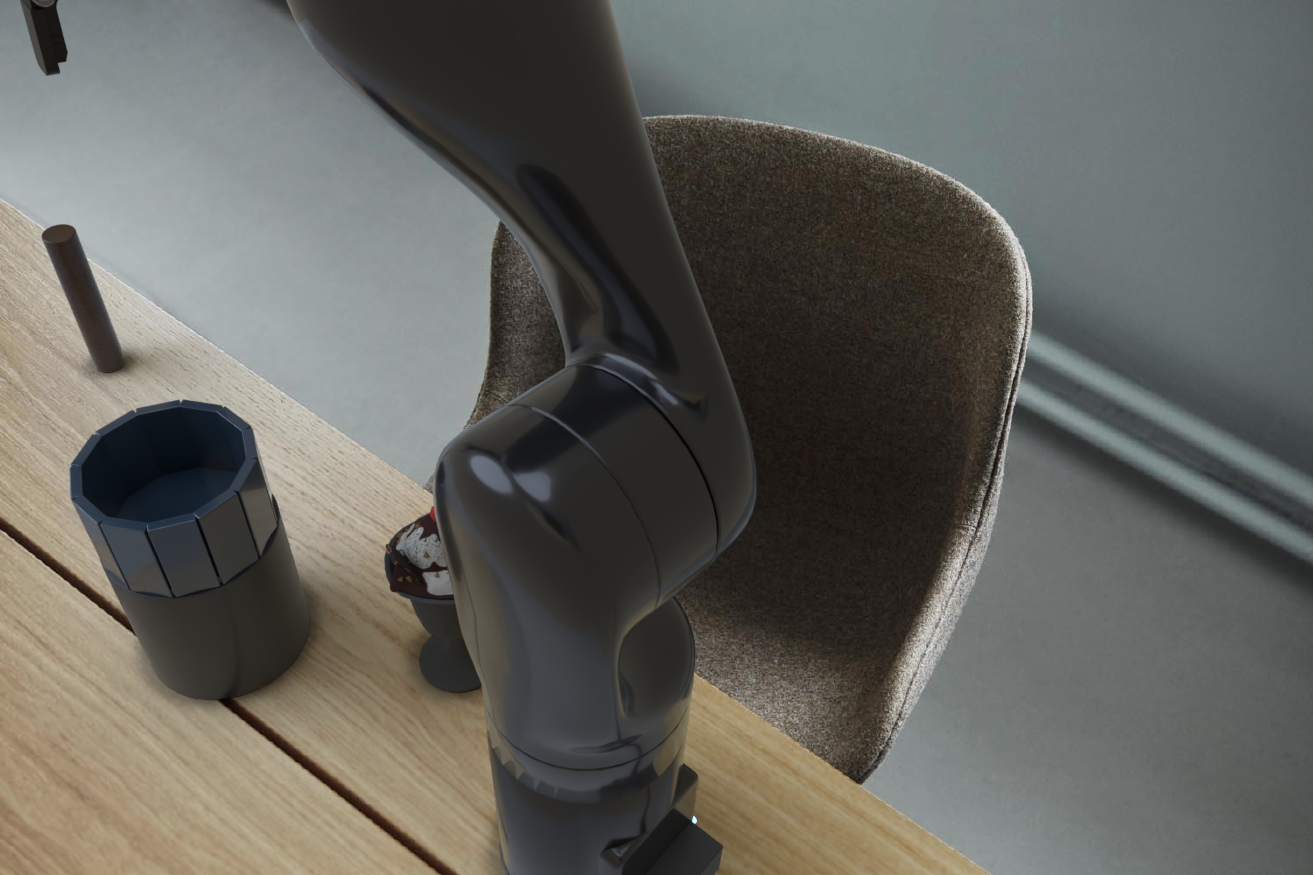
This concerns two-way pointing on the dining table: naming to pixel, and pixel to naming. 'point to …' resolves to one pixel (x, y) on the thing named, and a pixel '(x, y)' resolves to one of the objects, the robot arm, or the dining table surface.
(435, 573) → the sundae
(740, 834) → the dining table surface
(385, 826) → the dining table surface
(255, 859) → the dining table surface
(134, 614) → the stand
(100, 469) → the bowl
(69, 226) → the stick
